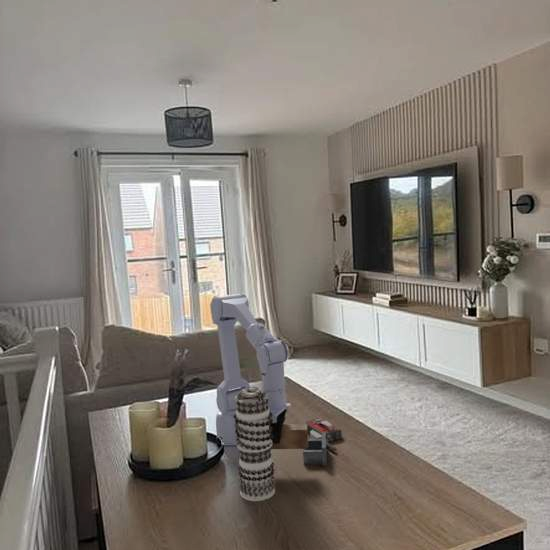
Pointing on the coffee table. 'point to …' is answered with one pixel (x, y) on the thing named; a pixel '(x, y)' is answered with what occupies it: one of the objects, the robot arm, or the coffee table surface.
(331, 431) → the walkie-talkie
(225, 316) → the robot arm
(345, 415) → the coffee table surface
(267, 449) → the decorative candle
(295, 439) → the brown long rectangular block
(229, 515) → the coffee table surface
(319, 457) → the bracket
